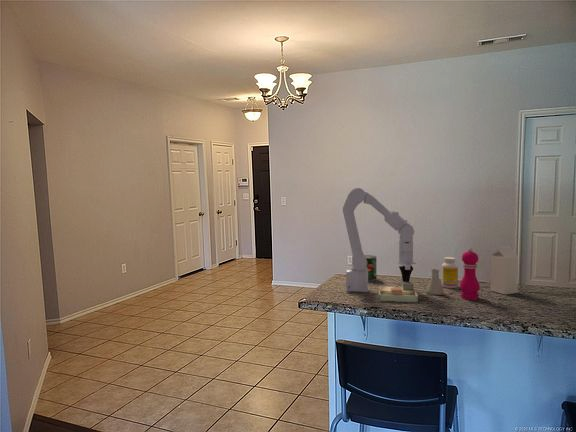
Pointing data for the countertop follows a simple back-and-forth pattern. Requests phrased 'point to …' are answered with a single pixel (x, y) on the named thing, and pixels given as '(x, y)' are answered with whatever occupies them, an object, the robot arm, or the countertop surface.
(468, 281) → the pepper mill
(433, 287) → the flask
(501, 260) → the milk carton
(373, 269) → the canned tomato
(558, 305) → the countertop surface
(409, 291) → the birch plate
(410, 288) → the slate tile
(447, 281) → the supplement bottle
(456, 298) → the countertop surface
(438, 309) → the countertop surface
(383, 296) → the box
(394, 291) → the terracotta tile
